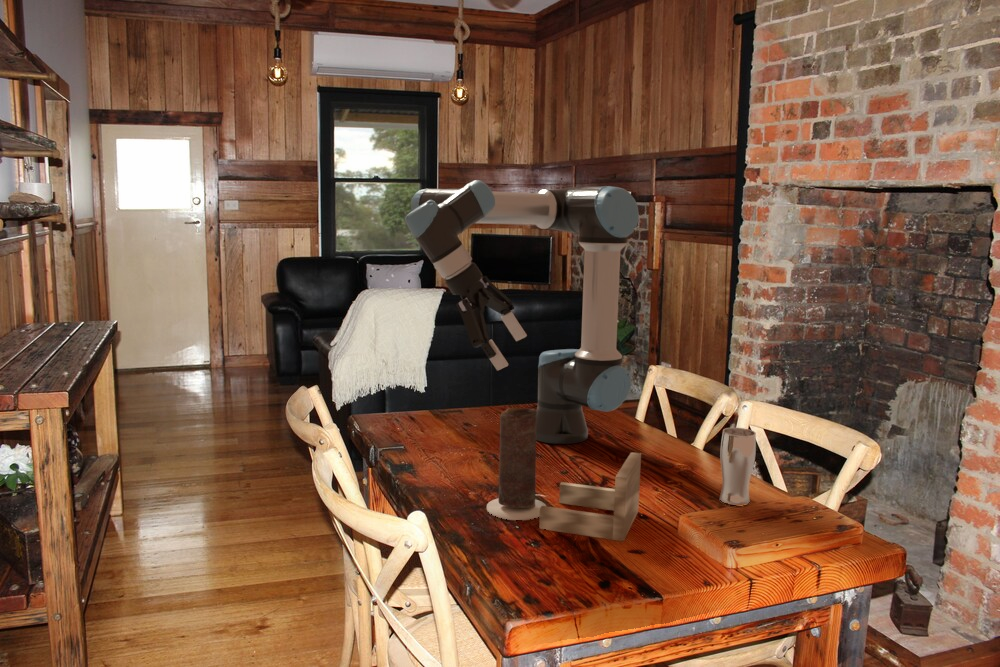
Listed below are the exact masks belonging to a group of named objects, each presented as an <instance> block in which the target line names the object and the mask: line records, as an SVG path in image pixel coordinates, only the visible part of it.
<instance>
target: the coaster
mask: <svg viewBox="0 0 1000 667" xmlns="http://www.w3.org/2000/svg"><path fill="white" fill-rule="evenodd" d="M498 500H499V497H497V498H495V499H492V500H490V501H488V503H487V504H486V512H487V513H488V512H489V513H488V514H490V515H491V514H492V515H491V516H493V517H495V516H496V517H495V518H497V517H498V518H497V519H501V518H502V520H506V519H507V520H508V521H516V520H522V521H531V520H535V519H534V518H536V519H539V518H540V508H541V506H547V505H546V504H545V503H544V502H543V501H541V500H538V499H537V498H535V507H531V508H510V507H507V506H504V505H501V504H500V503H499V501H498ZM538 517H539V518H538ZM530 519H531V520H530ZM507 520H506V521H507Z"/></svg>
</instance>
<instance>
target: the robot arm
mask: <svg viewBox="0 0 1000 667" xmlns="http://www.w3.org/2000/svg"><path fill="white" fill-rule="evenodd" d="M410 202H411V203H410V210H411V211H410V212H409V213H407V215H406V216H405V219H404V220H405V223H406V225H407V227H408V230H409V231H410V233H411V235H412V236H413V238H414V239H415V241H416V242H417V244H418V245H419V246H420V248H421V249H422V251H423V252H424V253H425V255H426V257H428V259H429V260H430V262H431V264H433V268H434V269H435V270H436V271H437V272H438V274H439V275H440V278H442V279H445V280H444V284H445V285H446V286H447V288H448V290H449V291H450V293H451V295H453V296H457V295H458V296H460V298H461V300H460V301H459V302H457V303H456V304H455V307H456V308H457V311H458V312H459V314H460V316H461V318H462V321H463V324H464V326H465V329H466V330H465V331H466V332H467V336H468V337H469V341H470V343H471V346H472V348H474V349H477V348H479V347H480V348H481V349H482V350H483V352H484V353H485V356H487V358H488V359H489V360H490V362H491V364H492V365H493V366H494V367H493V368H495V370H496V371H500V370H502V369H504V368H506V367H508V366H509V363H508V361H507V360H506V358H505V356H504V355H503V354H502V352H501V350H500V349H499V347H498V345H496V343H495V342H494V340H493V339H492V338H491V339H489V338H490V337H489V334H488V330H487V324H486V321H485V316H484V312H485V307H488V308H489V309H490V310H493V311H495V312H496V313H498V314H500V315H501V316H500V319H501V321H502V322H503V324H504V325H505V327H506V328H507V330H508V332H509V333H510V334H511V336H512V338H513V339H514V340H515V342H518V341H521V340H522V339H525V338H526V337H527V336H528V335H527V333H526V331H525V330H524V328H523V327H522V325H521V324H520V323H519V320H518V319H517V318H516V316H515V315H514V313H513V312H512V311H513V310H515V306H514V304H513V301H512V300H511V299H510V298H509V297H508V296H507V295H505V294H504V292H502V291H501V290H500V289H499V288H498V287H496V285H494V284H493V283H492V282H491V280H490V279H489V278H488V276H487V275H484V276H483V273H482V271H481V270H480V269H479V267H478V265H477V264H476V263H475V262H473V261H472V260H473V258H472V256H471V254H470V253H469V252H468V250H467V249H466V247H465V246H464V245H463V242H462V240H460V237H459V235H460V234H462V233H463V232H465V231H466V230H468V228H470V227H472V226H474V225H475V224H485V225H486V224H489V225H490V224H492V225H493V224H495V225H529V226H530V225H535V226H536V227H537V228H539V229H542V230H555V231H561V232H565V233H571V234H574V235H575V234H576V235H578V244H579V245H580V246H581V247H582V249H583V250H584V257H583V258H584V260H583V284H582V285H583V286H582V289H583V290H582V311H581V312H582V315H581V337H580V338H581V339H580V341H581V343H580V348H579V349H577V348H576V349H575V348H566V349H554V350H553V349H552V350H546V351H542V352H541V353H540V355H539V357H538V365H537V369H538V370H537V372H538V373H537V407H536V409H535V410H536V441H538V442H542V443H545V444H555V445H570V444H571V445H572V444H578V443H582V442H585V441H586V440H587V439H588V437H589V429H588V426H587V422H586V418H585V415H584V411H583V407H586V408H589V409H591V410H594V411H599V412H600V411H602V412H612V411H615V410H617V409H618V408H619V407H620V406H622V404H623V403H624V402H625V401H626V400H627V398H628V396H629V394H630V391H631V387H632V386H631V385H632V380H631V379H632V378H631V374H630V373H629V371H628V370H627V369H626V368H625V367H624V366H622V365H623V354H621V353H620V351H619V350H618V349H617V341H618V340H617V338H618V337H617V336H618V335H617V334H618V318H619V317H618V315H619V296H620V294H619V292H620V291H619V290H620V288H619V287H620V268H621V267H620V266H621V251H622V249H624V248H625V247H626V246H627V245H628V237H629V236H630V235H632V234H633V233H634V231H635V229H637V226H638V223H639V217H640V216H639V215H640V214H639V206H638V203H637V202H636V199H635V198H634V197H633V195H632V193H630V192H629V191H628V190H627V189H625V188H622V187H618V186H611V185H608V186H607V185H604V186H573V187H567V188H559V189H558V188H557V189H556V188H555V189H540V190H539V191H538V192H537V193H536V192H535V193H533V192H518V191H517V192H515V191H513V192H512V191H511V192H510V191H494V190H493V191H492V190H491V188H490V187H489V186H488V184H486V183H485V182H484V181H483V180H479V179H475V180H472V181H470V182H469V183H466V184H465V185H464V186H462V187H460V188H431V187H428V188H424V189H420V190H418V191H416V192H415V194H413V196H412V198H411V201H410Z"/></svg>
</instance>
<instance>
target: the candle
mask: <svg viewBox="0 0 1000 667" xmlns="http://www.w3.org/2000/svg"><path fill="white" fill-rule="evenodd" d="M536 410H537V409H535V408H533V409H532V408H526V407H525V408H524V407H523V408H519V407H509V408H506V409H505V410H503V411H502V412H501V413H500V416H499V417H500V424H499V461H498V462H499V464H498V465H499V466H498V467H499V470H498V498H499V500H498V501H499V503H500V504H501V505H504V506H507V507H510V508H531V507H535V499H536V487H537V484H536V467H537V466H536V465H537V463H536V462H537V461H536V460H537V457H536V456H537V455H536V453H537V449H536V448H537V447H536V446H537V440H536Z"/></svg>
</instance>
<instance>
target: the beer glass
mask: <svg viewBox="0 0 1000 667" xmlns="http://www.w3.org/2000/svg"><path fill="white" fill-rule="evenodd" d="M756 434H757V432H755V431H754V430H752V429H749V428H743V427H726V428H723V430H722V435H721V440H720V441H721V442H720V449H719V450H720V453H719V454H720V455H719V457H720V468H721V476H722V479H721V480H722V486H721V490H720V495H719V501H720V500H721V501H722V502H724V503H728V504H733V505H742V504H748V503H749V502H750V503H751V500H750V493H749V492H750V490H749V488H750V487H749V486H750V481H751V477H752V473H753V470H754V466H755V460H756V450H757V449H756V448H757V443H756V442H757V440H756V437H757V435H756ZM721 501H720V502H721ZM722 502H721V503H722ZM724 503H723V504H724ZM750 503H749V504H750Z"/></svg>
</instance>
